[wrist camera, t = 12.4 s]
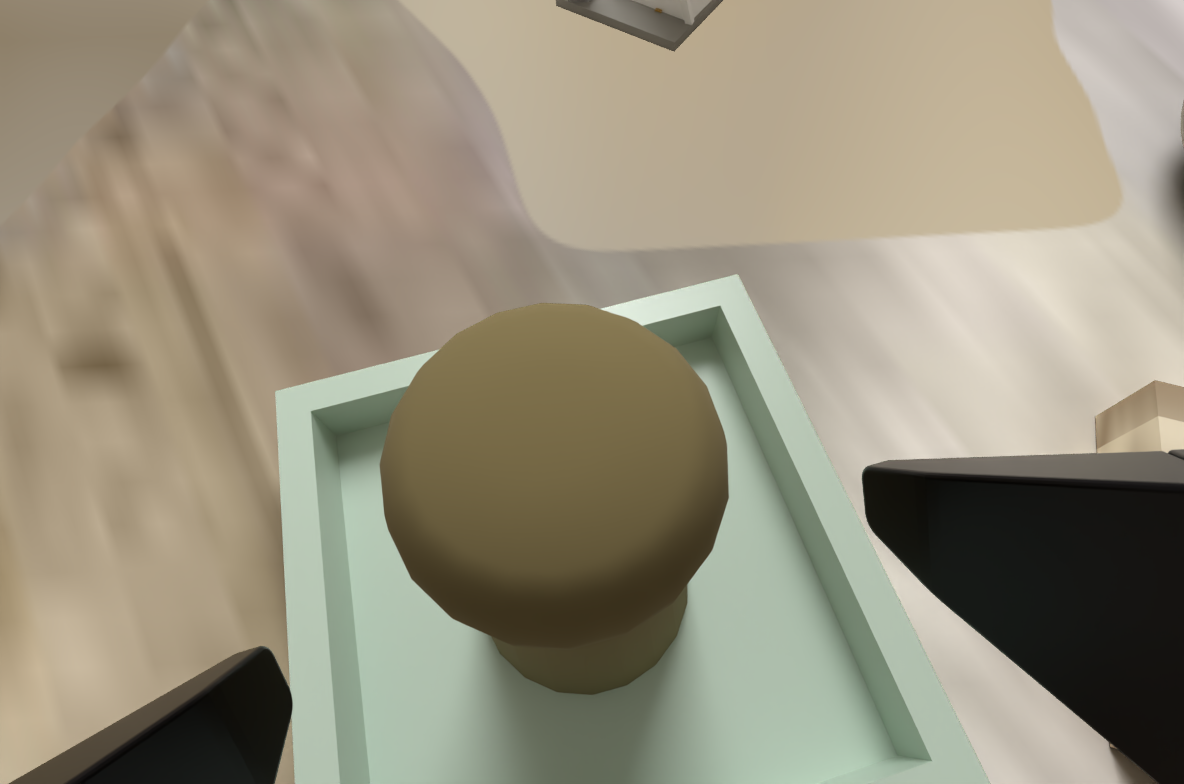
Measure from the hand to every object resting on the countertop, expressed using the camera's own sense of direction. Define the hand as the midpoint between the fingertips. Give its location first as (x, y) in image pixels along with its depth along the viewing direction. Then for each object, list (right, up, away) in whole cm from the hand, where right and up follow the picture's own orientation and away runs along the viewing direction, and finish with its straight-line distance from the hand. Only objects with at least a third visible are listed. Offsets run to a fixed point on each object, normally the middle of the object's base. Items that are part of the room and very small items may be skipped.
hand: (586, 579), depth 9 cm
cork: (0, -3, +9) cm, 9 cm away
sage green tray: (0, -3, +9) cm, 10 cm away
